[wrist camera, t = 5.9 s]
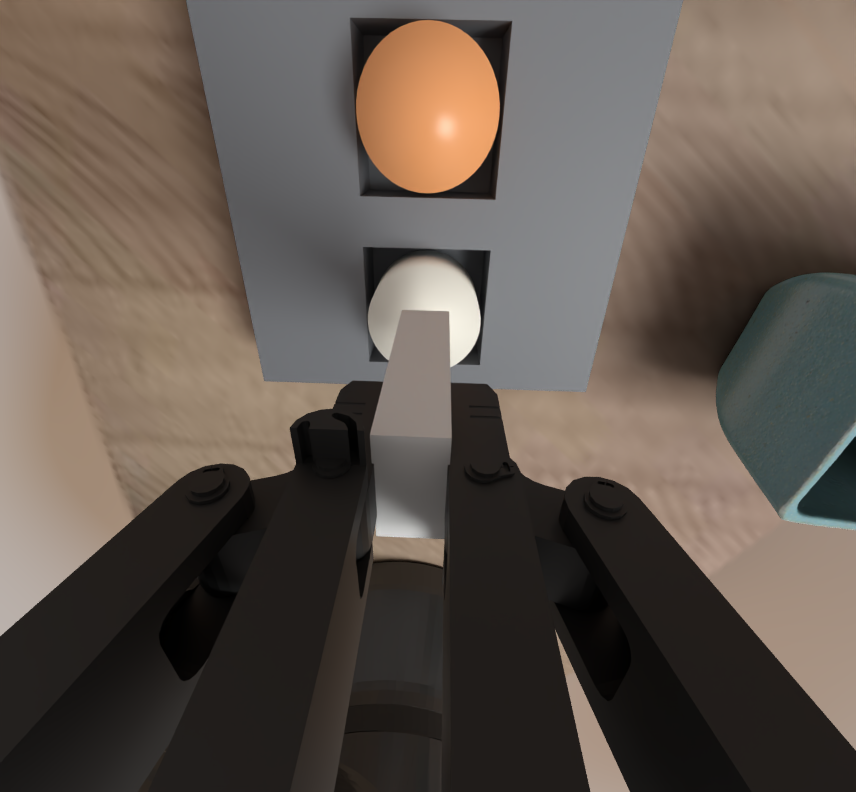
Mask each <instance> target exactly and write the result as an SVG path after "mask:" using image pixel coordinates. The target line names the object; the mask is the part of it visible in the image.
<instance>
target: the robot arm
mask: <svg viewBox="0 0 856 792" xmlns="http://www.w3.org/2000/svg"><path fill="white" fill-rule="evenodd" d="M501 418H502V416H501V411H500V406H499V401H498V396H497V394H496V393H495V392H494V391H493V390H492V389H491V387H490V386H489V385H488V384H476V383H451V376H450V323H449V311H426V310H402V311H401V315H400V319H399V323H398V327H397V330H396V334H395V338H394V342H393V346H392V350H391V354H390V358H389V362H388V366H387V370H386V374H385V378H384V381H383V382H381V381H354V380H352V381H351V382H350V383H349V384H348V385H346V386H345V387H344V388H343V389H341V390H340V392H339V395H338V397H337V400H336V404H334V407H333V409H324V410H318V411H315V412H311V413H308V414H306V415H304V416H303V417H301V418H299V419H297V420H296V421H295V422H294V424H293V425H292V426H291V427H290V432H291V438H292V443H293V449H294V454H295V459H296V466H295V468H294V470H292V471H290V472H288V473H285V474H281V475H277V476H273V477H267V478H262V479H257V480H251V481H250V478H249V476H248V474H247V473H246V471H245V470H244V469H243V468H240V467H238V466H236V465H233V464H215V465H210V466H205V467H202V468H200V469H197V470H195V471H192V472H190V473H188V474H187V475H185V476H184V477H182V478H181V479H180V480H178V481H177V482H176V483H174V484H173V485H172V486H171V487H170V488H169V489H168V490H166V491H165V492H164V493H163V494H162V495H161V496H160V497H159V498H157V499H156V500H155V501H154V502H153V503H152V504H151V505H149V506H148V507H147V508H146V509H145V510H144V511H143V512H141V513H140V514H139V515H138V516H137V517H136V518H135V519H133V520H132V521H131V522H130V523H129V524H128V525H127V526H125V528H123V529H122V530H121V531H120V532H119V533H117V534H116V535H115V536H114V537H113V538H112V539H111V540H110V541H108V542H107V543H106V544H105V545H104V546H103V547H102V548H100V549H99V550H98V551H97V552H96V553H95V554H94V555H92V556H91V557H90V558H89V559H88V560H87V561H86V562H84V563H83V564H82V565H81V566H80V567H79V568H78V569H76V570H75V571H74V572H73V573H72V574H71V575H70V576H69V577H67V578H66V579H65V580H64V581H63V582H62V583H61V584H59V586H57V587H56V588H55V589H54V590H53V591H51V592H50V593H49V594H48V595H47V596H46V597H45V598H43V599H42V600H41V601H40V602H39V603H38V604H37V605H35V606H34V607H33V608H32V609H31V610H30V611H29V612H28V613H26V614H25V615H24V616H23V617H22V618H21V619H20V620H19V621H17V622H16V623H15V624H14V625H13V626H12V627H11V628H9V629H8V630H7V631H6V632H5V633H4V634H2V635H1V636H0V792H590V788H589V784H588V779H587V774H586V770H585V765H584V761H583V756H582V752H581V747H580V743H579V738H578V733H577V729H576V724H575V720H574V715H573V710H572V706H571V701H570V697H569V692H568V687H567V683H566V678H565V674H564V669H563V664H562V660H561V655H560V651H559V646H558V641H557V637H556V632H557V634H558V636H559V639H560V641H561V643H562V645H563V647H564V649H565V652H566V654H567V656H568V658H569V660H570V662H571V665H572V667H573V669H574V671H575V673H576V675H577V678H578V680H579V682H580V684H581V686H582V688H583V690H584V692H585V695H586V697H587V699H588V701H589V704H590V706H591V708H592V710H593V712H594V714H595V716H596V719H597V721H598V723H599V725H600V727H601V729H602V732H603V734H604V736H605V738H606V741H607V743H608V745H609V747H610V749H611V751H612V754H613V756H614V758H615V760H616V762H617V764H618V766H619V769H620V771H621V773H622V775H623V777H624V780H625V782H626V784H627V786H628V788H629V790H630V792H856V750H855V749H854V748H853V747H852V746H851V745H850V744H849V742H848V741H847V740H846V739H845V738H844V736H843V735H842V734H841V733H840V732H839V731H838V729H837V728H836V727H835V726H834V725H833V724H832V723H831V721H830V720H829V719H828V718H827V717H826V715H825V714H824V713H823V712H822V711H821V710H820V708H819V707H818V706H817V705H816V704H815V703H814V701H813V700H812V699H811V698H810V697H809V696H808V694H807V693H806V692H805V691H804V690H803V689H802V687H801V686H800V685H799V684H798V683H797V682H796V680H795V679H794V678H793V677H792V676H791V675H790V673H789V672H788V671H787V670H786V669H785V668H784V667H783V665H782V664H781V663H780V662H779V661H778V659H777V658H775V656H774V655H773V654H772V652H771V651H770V650H769V649H768V648H767V647H766V645H765V644H764V643H763V642H762V641H761V640H760V638H759V637H758V636H757V635H756V634H755V633H754V631H753V630H752V629H751V628H750V627H749V626H748V624H747V623H746V622H745V621H744V620H743V619H742V617H741V616H740V615H739V614H738V613H737V612H736V610H735V609H734V608H733V607H732V606H731V605H730V603H729V602H728V601H727V600H726V599H725V598H724V596H723V595H722V594H721V593H720V592H719V591H718V589H717V588H716V587H715V586H714V585H713V584H712V582H711V581H710V580H709V579H708V578H707V577H706V575H705V574H704V573H703V572H702V571H701V570H700V568H699V567H698V566H697V565H696V564H695V563H694V561H693V560H692V559H691V558H690V557H689V556H688V554H687V553H686V552H685V551H684V550H683V549H682V547H681V546H680V545H679V544H678V543H677V542H676V540H675V539H674V538H673V537H672V536H671V535H670V533H669V532H668V531H667V530H666V529H665V528H664V526H663V525H662V524H661V523H660V522H659V521H658V519H657V518H656V517H655V516H654V515H653V514H652V512H651V511H650V510H649V509H648V508H647V507H646V505H645V504H644V503H643V502H642V501H641V500H640V498H639V497H637V496H636V495H635V494H634V493H633V492H632V491H631V490H629V489H628V488H627V487H625V486H623V485H621V484H619V483H617V482H615V481H612V480H608V479H605V478H601V477H583V478H579V479H576V480H573V481H572V482H571V483H570V484H569V485H568V486H567V487H566V490H565V491H564V490H560V489H556V488H553V487H549V486H545V485H542V484H540V483H537V482H534V481H532V480H530V479H529V478H527V477H525V476H524V475H523V474H521V472H520V470H519V468H518V466H517V464H516V463H515V462H514V461H513V460H512V459H511V458H510V456H509V451H508V446H507V441H506V436H505V431H504V426H503V421H502V419H501ZM375 524H376V536H387V537H410V538H433V539H445V545H444V561H443V569H440V568H437V567H433V566H429V565H424V564H418V563H410V562H382V563H374V564H373V545H372V541H373V535H374V530H375ZM555 630H556V632H555Z"/></svg>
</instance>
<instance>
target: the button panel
mask: <svg viewBox="0 0 856 792" xmlns="http://www.w3.org/2000/svg"><path fill="white" fill-rule="evenodd" d="M186 3H187V8H188V13H189V18H190V22H191V27H192V32H193V37H194V42H195V47H196V52H197V56H198V61H199V66H200V71H201V76H202V81H203V86H204V91H205V95H206V100H207V105H208V110H209V115H210V120H211V125H212V129H213V134H214V139H215V144H216V149H217V154H218V159H219V163H220V168H221V173H222V178H223V183H224V188H225V193H226V197H227V202H228V207H229V212H230V217H231V222H232V227H233V232H234V236H235V241H236V246H237V251H238V256H239V261H240V266H241V270H242V275H243V280H244V285H245V290H246V295H247V300H248V304H249V309H250V314H251V319H252V324H253V329H254V334H255V338H256V343H257V348H258V353H259V358H260V363H261V368H262V373H263V377H264V381H275V382H305V383H335V384H349V383H350V382H351V381H352V380H354V381H381V382H383V381H384V378H385V374H386V370H387V366H388V362H389V360H387V359H386V358H385V357H384V356H383V355H382V354H381V353H380V351H379V350H378V349H377V347H376V346H375V344H374V342H373V340H372V338H371V335H370V331H369V327H368V311H369V306H370V303H371V300H372V298H373V296H374V293H375V291H376V289H377V287H378V284H379V282H380V280H381V278H382V276H383V274H384V273H385V271H386V270H387V268H388V267H389V266H390V265H391V264H392V263H393V262H394V261H396V260H397V259H399V258H400V257H402V256H404V255H406V254H409V253H412V252H416V251H425V250H428V251H436V252H440V253H443V254H446V255H448V256H450V257H452V258H453V259H455V260H456V261H458V262H459V263H460V264H461V265H462V266H463V267H464V268H465V269H466V271H467V272H468V274H469V275H470V277H471V279H472V281H473V284H474V287H475V291H476V296H477V301H478V305H479V310H480V317H481V323H480V331H479V335H478V338H477V340H476V343H475V345H474V346H473V348H472V350H471V351H470V352H469V353H468V355H467V356H466V357H465V358H464V359H463V360H461V361H460V362H459V363H457V364H456V365H454V366H452V367H450V376H451V383H476V384H488V385H489V386H490V387H491V389H514V390H544V391H574V392H586V389H587V385H588V381H589V377H590V373H591V369H592V365H593V361H594V357H595V353H596V349H597V345H598V341H599V337H600V332H601V328H602V324H603V320H604V316H605V312H606V308H607V304H608V300H609V296H610V292H611V288H612V284H613V280H614V276H615V272H616V268H617V264H618V260H619V256H620V252H621V248H622V244H623V240H624V236H625V232H626V228H627V224H628V220H629V216H630V212H631V208H632V204H633V200H634V196H635V192H636V188H637V184H638V180H639V176H640V172H641V168H642V164H643V160H644V156H645V152H646V148H647V144H648V140H649V136H650V132H651V127H652V123H653V119H654V115H655V111H656V107H657V103H658V99H659V95H660V91H661V87H662V83H663V79H664V75H665V71H666V67H667V63H668V59H669V55H670V51H671V47H672V43H673V39H674V35H675V31H676V27H677V23H678V19H679V15H680V11H681V7H682V3H683V0H186ZM421 20H434V21H441V22H445V23H448V24H451V25H453V26H455V27H457V28H459V29H461V30H462V31H463V32H465V33H466V34H468V35H469V36H470V37H471V38H472V39H473V40H474V41H475V42H476V43H477V44H478V45H479V47H480V48H481V49H482V50H483V52H484V53H485V55H486V57H487V58H488V60H489V62H490V64H491V67H492V69H493V71H494V74H495V78H496V81H497V86H498V91H499V101H500V112H499V122H498V128H497V132H496V136H495V139H494V142H493V144H492V147H491V149H490V151H489V153H488V155H487V157H486V158H485V160H484V161H483V163H482V164H481V166H480V167H479V168H478V169H477V170H476V171H475V173H474V174H472V175H471V176H470V177H469V178H468V179H467V180H465V181H464V182H462V183H461V184H459V185H457V186H455V187H454V188H451V189H449V190H446V191H442V192H437V193H418V192H414V191H410V190H407V189H405V188H402V187H400V186H398V185H396V184H395V183H393V182H392V181H390V180H389V179H388V178H386V177H385V176H384V175H383V174H382V173H381V172H380V171H379V170H378V168H377V167H376V166H375V165H374V163H373V162H372V160H371V159H370V157H369V155H368V154H367V152H366V149H365V147H364V145H363V142H362V139H361V136H360V133H359V128H358V124H357V115H356V99H357V90H358V85H359V81H360V77H361V74H362V71H363V68H364V66H365V64H366V62H367V60H368V58H369V56H370V55H371V53H372V52H373V50H374V49H375V48H376V46H377V45H378V44H379V43H380V42H381V41H382V40H383V39H384V38H385V37H386V36H387V35H388V34H390V33H391V32H392V31H394V30H396V29H397V28H399V27H401V26H403V25H406V24H408V23H411V22H415V21H421Z"/></svg>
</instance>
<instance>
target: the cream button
mask: <svg viewBox="0 0 856 792" xmlns="http://www.w3.org/2000/svg"><path fill="white" fill-rule="evenodd" d="M402 310H426V311H449V323H450V367H452V366H454V365H456V364H457V363H459V362H460V361H461V360H463V359H464V358H465V357H466V356H467V355H468V353H469V352H470V351H471V350H472V348H473V346H474V345H475V343H476V340H477V338H478V335H479V331H480V323H481V317H480V310H479V305H478V301H477V296H476V291H475V287H474V284H473V281H472V279H471V277H470V275H469V274H468V272H467V271H466V269H465V268H464V267H463V266H462V265H461V264H460V263H459V262H458V261H456V260H455V259H453V258H452V257H450V256H448V255H446V254H443V253H440V252H436V251H428V250H425V251H416V252H412V253H409V254H406V255H404V256H402V257H400V258H399V259H397V260H396V261H394V262H393V263H392V264H391V265H390V266H389V267H388V268H387V270H386V271H385V273H384V274H383V276H382V278H381V280H380V282H379V284H378V287H377V289H376V291H375V293H374V296H373V298H372V300H371V303H370V306H369V311H368V327H369V331H370V335H371V338H372V340H373V342H374V344H375V346H376V347H377V349H378V350H379V351H380V353H381V354H382V355H383V356H384V357H385V358H386V359H387V360H389V358H390V354H391V350H392V346H393V342H394V338H395V334H396V330H397V327H398V323H399V319H400V315H401V311H402Z"/></svg>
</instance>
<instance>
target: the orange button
mask: <svg viewBox="0 0 856 792" xmlns="http://www.w3.org/2000/svg"><path fill="white" fill-rule="evenodd" d="M499 112H500V101H499V91H498V86H497V81H496V78H495V74H494V71H493V69H492V67H491V64H490V62H489V60H488V58H487V57H486V55H485V53H484V52H483V50H482V49H481V48H480V47H479V45H478V44H477V43H476V42H475V41H474V40H473V39H472V38H471V37H470V36H469V35H468V34H466V33H465V32H463V31H462V30H461V29H459V28H457V27H455V26H453V25H451V24H448V23H445V22H441V21H434V20H421V21H415V22H411V23H408V24H406V25H403V26H401V27H399V28H397V29H396V30H394V31H392V32H391V33H390V34H388V35H387V36H386V37H385V38H384V39H383V40H382V41H381V42H380V43H379V44H378V45H377V46H376V48H375V49H374V50H373V52H372V53H371V55H370V56H369V58H368V60H367V62H366V64H365V66H364V68H363V71H362V74H361V77H360V81H359V85H358V90H357V99H356V115H357V124H358V128H359V133H360V136H361V139H362V142H363V145H364V147H365V149H366V152H367V154H368V155H369V157H370V159H371V160H372V162H373V163H374V165H375V166H376V167H377V168H378V170H379V171H380V172H381V173H382V174H383V175H384V176H385V177H386V178H388V179H389V180H390V181H392V182H393V183H395V184H396V185H398V186H400V187H402V188H405V189H407V190H410V191H414V192H418V193H437V192H442V191H446V190H449V189H451V188H454V187H455V186H457V185H459V184H461V183H462V182H464V181H465V180H467V179H468V178H469V177H470V176H471V175H472V174H474V173H475V171H476V170H477V169H478V168H479V167H480V166H481V164H482V163H483V161H484V160H485V158H486V157H487V155H488V153H489V151H490V149H491V147H492V144H493V142H494V139H495V136H496V132H497V128H498V122H499Z"/></svg>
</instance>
